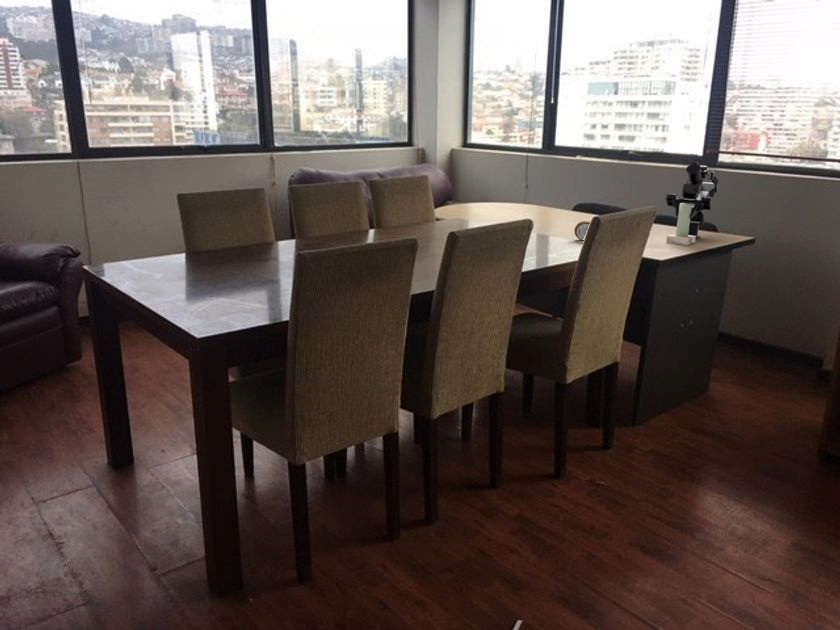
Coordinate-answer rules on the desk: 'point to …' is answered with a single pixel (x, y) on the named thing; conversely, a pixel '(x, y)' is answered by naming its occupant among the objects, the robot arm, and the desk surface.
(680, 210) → the post
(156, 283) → the desk surface
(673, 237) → the plinth
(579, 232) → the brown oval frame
